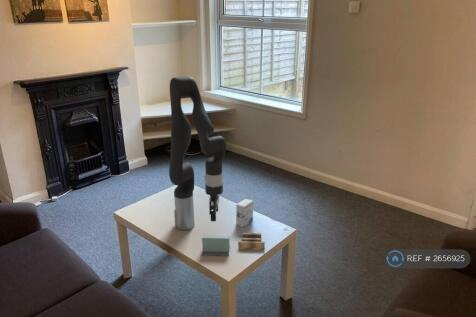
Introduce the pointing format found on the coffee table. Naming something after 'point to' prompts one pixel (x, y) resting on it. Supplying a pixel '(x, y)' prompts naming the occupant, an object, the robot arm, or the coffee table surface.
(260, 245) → the wooden bar
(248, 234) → the walnut slot block
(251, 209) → the ink box
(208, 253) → the rubber mat
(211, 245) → the grey-green rectangular block
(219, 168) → the robot arm
